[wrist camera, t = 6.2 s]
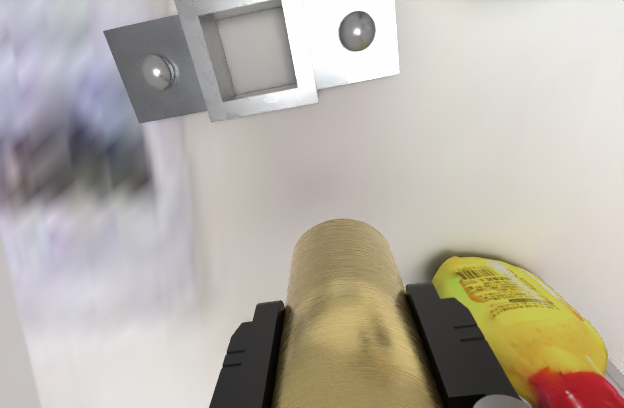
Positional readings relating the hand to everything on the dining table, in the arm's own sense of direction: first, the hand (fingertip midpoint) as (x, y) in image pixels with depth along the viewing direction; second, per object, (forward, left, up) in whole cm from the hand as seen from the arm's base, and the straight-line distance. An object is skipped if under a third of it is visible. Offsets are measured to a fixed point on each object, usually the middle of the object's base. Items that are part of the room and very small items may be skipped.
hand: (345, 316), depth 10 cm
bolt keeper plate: (+4, -8, -20) cm, 22 cm away
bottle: (-13, +16, -21) cm, 29 cm away
